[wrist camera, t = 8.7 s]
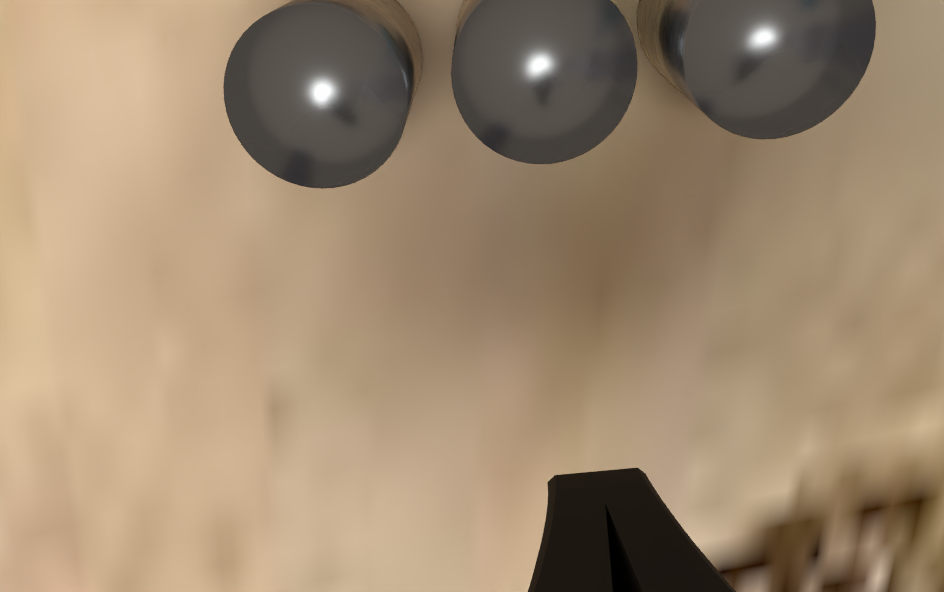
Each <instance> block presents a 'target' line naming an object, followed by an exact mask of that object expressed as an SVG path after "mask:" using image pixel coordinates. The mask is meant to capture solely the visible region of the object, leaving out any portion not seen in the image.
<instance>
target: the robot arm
mask: <svg viewBox="0 0 944 592" xmlns="http://www.w3.org/2000/svg"><path fill="white" fill-rule="evenodd" d="M528 592H736V591H735V590H734V589H733V588H732V587H731V585H730V584H729V583H728V582H727V581H726V580H725V579H724V578H723V576H722V575H721V574H720V573H719V572H718V571H717V570H716V568H715V567H714V566H713V565H712V564H711V562H710V561H709V560H708V559H707V558H706V556H705V555H704V554H703V553H702V552H701V550H700V549H699V548H698V547H697V546H696V545H695V543H694V542H693V541H692V540H691V538H690V537H689V536H688V534H687V533H686V532H685V531H684V529H683V528H682V527H681V525H680V524H679V523H678V521H677V520H676V519H675V517H674V516H673V515H672V513H671V512H670V511H669V509H668V508H667V506H666V505H665V504H664V502H663V501H662V499H661V498H660V496H659V495H658V493H657V492H656V490H655V489H654V487H653V486H652V484H651V482H650V481H649V479H648V477H647V476H646V474H645V473H644V472H642V471H641V470H640V469H639V468H630V469H619V470H608V471H597V472H586V473H575V474H564V475H555V476H554V477H553V478H552V479H551V480H550V481H549V482H548V506H547V515H546V521H545V527H544V532H543V537H542V542H541V546H540V550H539V554H538V557H537V561H536V565H535V569H534V573H533V577H532V580H531V583H530V587H529V590H528Z"/></svg>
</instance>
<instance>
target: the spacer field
mask: <svg viewBox="0 0 944 592" xmlns="http://www.w3.org/2000/svg"><path fill="white" fill-rule="evenodd" d="M637 25H638V34H639V38H640V42H641V45H642V48H643V50H644V52H645V54H646V56H647V58H648V59H649V61H650V62H651V63H652V65H653V66H654V67H655V68H656V69H657V70H658V71H659V72H660V73H661V74H662V75H663V76H664V77H665V78H666V79H668V80H669V81H670V82H671V83H672V84H673V85H674V86H675V87H676V88H677V89H678V90H679V91H681V92H682V93H683V94H684V95H685V96H686V97H687V98H688V99H689V100H690V101H691V102H693V103H694V104H695V105H696V106H697V107H698V108H699V109H700V110H701V111H702V112H703V113H705V114H706V115H707V116H708V117H709V118H710V119H711V120H712V121H714V122H715V123H716V124H718V125H719V126H720V127H722V128H724V129H726V130H728V131H729V132H732V133H734V134H737V135H740V136H744V137H748V138H755V139H776V138H782V137H787V136H791V135H794V134H797V133H800V132H802V131H805V130H807V129H809V128H811V127H813V126H815V125H817V124H818V123H820V122H822V121H823V120H825V119H826V118H827V117H829V116H830V115H831V114H833V113H834V112H835V111H836V110H837V109H838V108H839V107H840V106H841V105H842V104H843V103H844V102H845V101H846V100H847V99H848V98H849V97H850V95H851V94H852V93H853V91H854V90H855V88H856V87H857V86H858V84H859V82H860V80H861V79H862V77H863V75H864V73H865V71H866V68H867V66H868V64H869V61H870V58H871V54H872V51H873V47H874V41H875V29H876V21H875V11H874V6H873V2H872V0H640V2H639V7H638V17H637ZM421 68H422V50H421V44H420V39H419V36H418V33H417V30H416V28H415V26H414V24H413V22H412V20H411V18H410V17H409V15H408V14H407V12H406V11H405V10H404V9H403V7H402V6H401V5H400V4H399V3H398V2H397V1H396V0H293V1H291V2H289V3H287V4H285V5H283V6H281V7H280V8H278V9H276V10H274V11H272V12H270V13H269V14H267V15H265V16H263V17H262V18H260V19H259V20H257V21H256V22H255V23H253V24H252V25H251V26H250V27H249V28H248V29H247V30H246V31H245V32H244V33H243V35H242V36H241V37H240V39H239V40H238V41H237V43H236V45H235V47H234V48H233V50H232V52H231V55H230V57H229V60H228V63H227V67H226V71H225V76H224V101H225V106H226V112H227V115H228V118H229V121H230V124H231V126H232V128H233V131H234V133H235V135H236V136H237V138H238V140H239V141H240V143H241V145H242V146H243V147H244V148H245V150H246V151H247V152H248V154H249V155H250V156H251V157H252V158H253V159H254V160H255V161H256V162H257V163H259V164H260V165H261V166H262V167H264V168H265V169H266V170H267V171H269V172H271V173H272V174H274V175H276V176H277V177H279V178H281V179H284V180H286V181H288V182H291V183H294V184H297V185H301V186H305V187H311V188H335V187H340V186H345V185H348V184H352V183H355V182H357V181H359V180H361V179H363V178H365V177H367V176H368V175H370V174H371V173H373V172H374V171H376V170H377V169H378V168H379V167H380V166H381V165H383V163H384V162H385V161H386V160H387V159H388V158H389V157H390V155H391V154H392V152H393V151H394V149H395V148H396V146H397V144H398V142H399V140H400V138H401V135H402V132H403V129H404V126H405V123H406V120H407V117H408V113H409V110H410V107H411V104H412V101H413V97H414V94H415V91H416V88H417V84H418V81H419V78H420V74H421ZM451 76H452V87H453V92H454V97H455V100H456V103H457V106H458V109H459V111H460V113H461V115H462V117H463V119H464V121H465V122H466V124H467V125H468V127H469V128H470V130H471V131H472V132H473V133H474V134H475V135H476V137H477V138H478V139H479V140H481V141H482V142H483V143H484V144H485V145H486V146H488V147H489V148H491V149H492V150H494V151H495V152H497V153H499V154H501V155H503V156H505V157H507V158H510V159H513V160H516V161H520V162H525V163H532V164H551V163H557V162H563V161H566V160H569V159H572V158H575V157H577V156H580V155H582V154H584V153H586V152H587V151H589V150H591V149H592V148H594V147H595V146H597V145H598V144H599V143H601V142H602V141H603V140H604V139H605V138H606V137H607V136H608V135H609V134H610V133H611V132H612V131H613V130H614V129H615V127H616V126H617V125H618V124H619V122H620V121H621V119H622V117H623V116H624V114H625V112H626V111H627V108H628V106H629V104H630V102H631V99H632V96H633V92H634V89H635V84H636V78H637V54H636V48H635V43H634V39H633V36H632V33H631V31H630V28H629V26H628V24H627V22H626V20H625V18H624V17H623V15H622V14H621V12H620V11H619V10H618V8H617V7H616V6H615V5H614V4H613V2H612V1H611V0H465V1H464V3H463V5H462V8H461V11H460V14H459V18H458V23H457V29H456V36H455V43H454V50H453V57H452V69H451Z"/></svg>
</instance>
